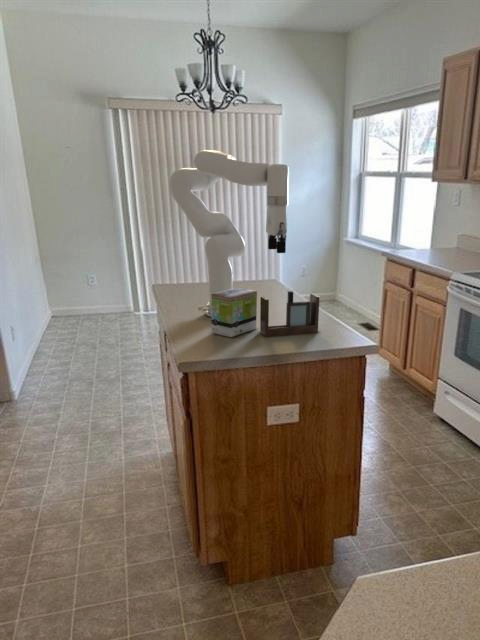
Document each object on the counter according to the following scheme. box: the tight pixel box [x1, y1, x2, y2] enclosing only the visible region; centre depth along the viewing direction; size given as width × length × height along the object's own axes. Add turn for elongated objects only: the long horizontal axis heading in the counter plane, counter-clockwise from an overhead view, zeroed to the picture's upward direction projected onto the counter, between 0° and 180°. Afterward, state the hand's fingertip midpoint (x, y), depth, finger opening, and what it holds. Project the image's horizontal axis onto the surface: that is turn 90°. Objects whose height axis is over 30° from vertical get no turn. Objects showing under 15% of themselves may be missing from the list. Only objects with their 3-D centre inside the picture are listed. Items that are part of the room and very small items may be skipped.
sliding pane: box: [285, 290, 310, 327], centre depth 194 cm, size 9×2×14 cm, turn 110°
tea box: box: [211, 287, 258, 338], centre depth 195 cm, size 15×10×15 cm, turn 148°
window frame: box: [259, 292, 320, 338], centre depth 195 cm, size 21×6×14 cm, turn 110°
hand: (276, 251), depth 195 cm, fingers open, 9 cm apart
